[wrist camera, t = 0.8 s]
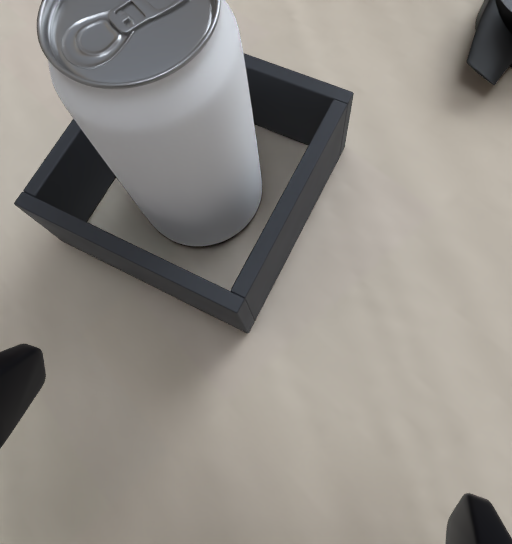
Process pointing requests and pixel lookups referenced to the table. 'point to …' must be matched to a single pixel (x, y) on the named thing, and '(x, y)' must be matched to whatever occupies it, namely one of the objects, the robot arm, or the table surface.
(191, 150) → the can
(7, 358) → the robot arm
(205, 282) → the bin
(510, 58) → the dark ring with tabs
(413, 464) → the table surface
